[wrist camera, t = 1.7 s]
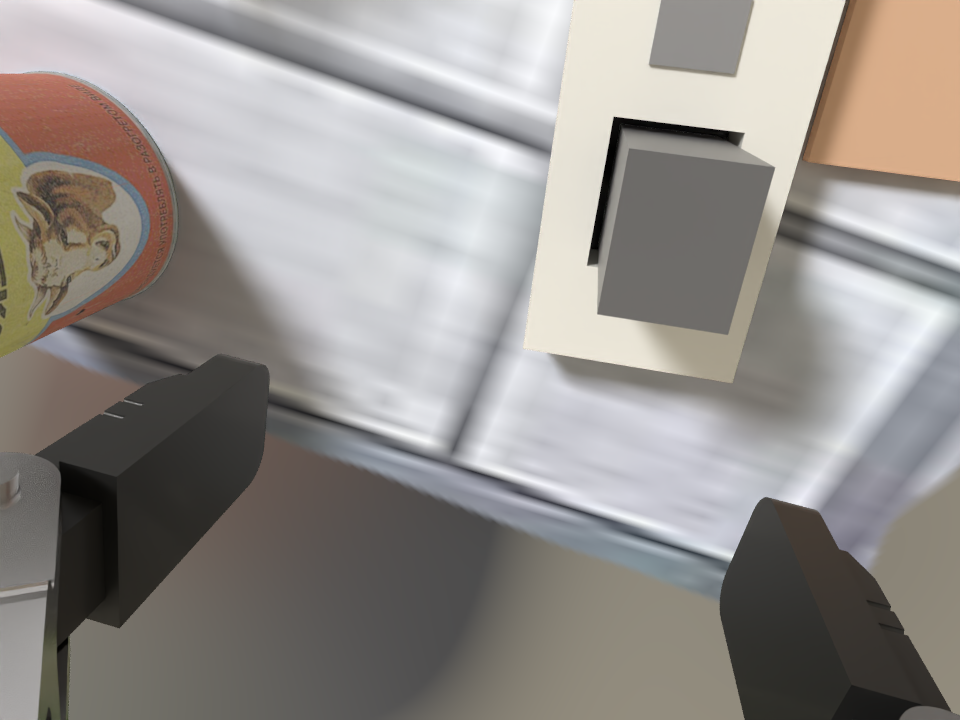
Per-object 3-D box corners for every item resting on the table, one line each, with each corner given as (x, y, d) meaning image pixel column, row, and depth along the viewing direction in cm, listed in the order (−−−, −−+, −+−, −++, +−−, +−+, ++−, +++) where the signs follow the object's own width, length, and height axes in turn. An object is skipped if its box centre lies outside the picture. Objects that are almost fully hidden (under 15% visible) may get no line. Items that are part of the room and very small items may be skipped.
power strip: (655, -523, 20) (663, -620, 17) (966, -517, 19) (1030, -618, 17) (529, 325, 32) (522, 349, 29) (720, 356, 31) (733, 384, 28)
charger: (620, 123, 28) (629, 148, 19) (717, 135, 27) (775, 167, 18) (598, 240, 30) (596, 314, 21) (689, 253, 29) (728, 335, 20)
